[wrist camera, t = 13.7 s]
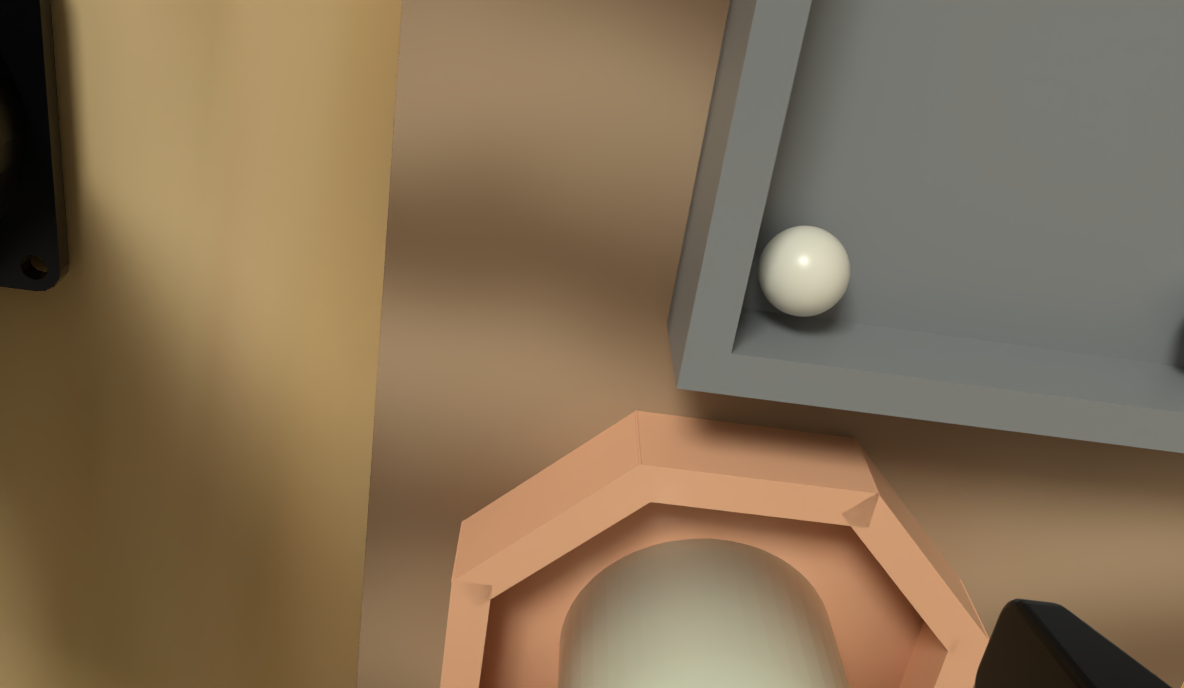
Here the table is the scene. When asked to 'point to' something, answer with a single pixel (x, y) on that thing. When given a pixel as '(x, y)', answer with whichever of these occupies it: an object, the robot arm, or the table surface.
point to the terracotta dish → (709, 511)
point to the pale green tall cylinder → (699, 623)
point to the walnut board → (653, 334)
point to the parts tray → (944, 215)
